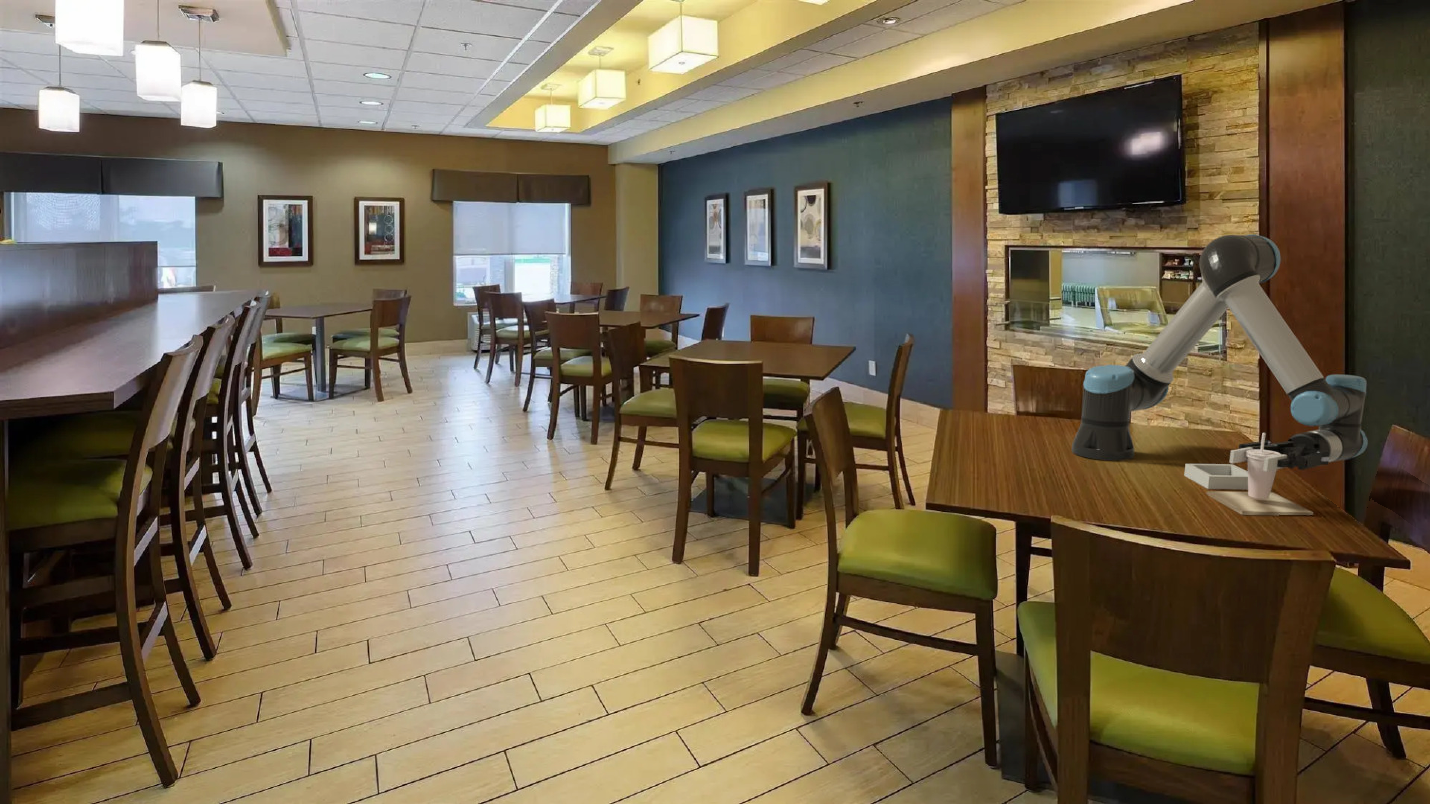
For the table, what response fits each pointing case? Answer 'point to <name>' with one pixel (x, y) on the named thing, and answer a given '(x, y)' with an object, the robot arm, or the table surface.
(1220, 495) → the board
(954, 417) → the table surface
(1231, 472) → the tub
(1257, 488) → the smoothie
